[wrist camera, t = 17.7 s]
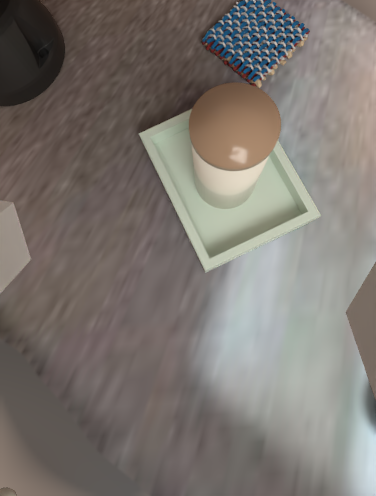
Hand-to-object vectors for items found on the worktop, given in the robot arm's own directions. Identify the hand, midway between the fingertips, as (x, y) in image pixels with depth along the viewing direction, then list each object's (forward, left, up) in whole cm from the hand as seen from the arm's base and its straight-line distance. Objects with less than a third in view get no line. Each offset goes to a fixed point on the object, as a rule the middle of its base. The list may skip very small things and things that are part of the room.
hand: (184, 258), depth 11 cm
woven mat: (-25, +20, -25) cm, 41 cm away
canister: (-10, +8, -24) cm, 27 cm away
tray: (-10, +8, -24) cm, 27 cm away
